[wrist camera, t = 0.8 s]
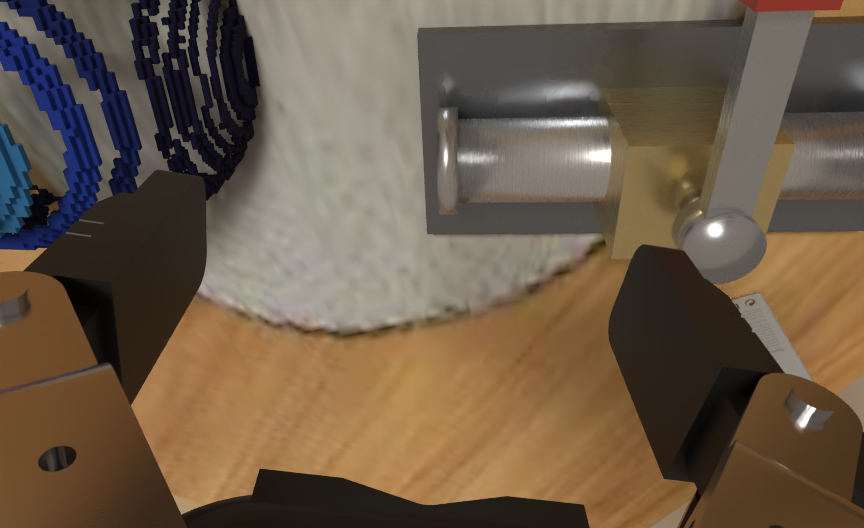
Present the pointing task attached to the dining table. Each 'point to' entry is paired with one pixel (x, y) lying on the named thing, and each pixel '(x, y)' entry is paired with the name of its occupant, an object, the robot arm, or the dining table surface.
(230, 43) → the decorative bowl
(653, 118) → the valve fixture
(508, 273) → the dining table surface
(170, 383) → the dining table surface
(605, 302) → the dining table surface
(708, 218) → the valve lever
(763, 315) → the skincare box
